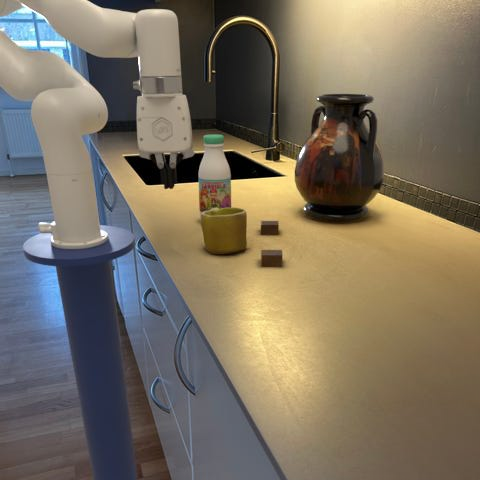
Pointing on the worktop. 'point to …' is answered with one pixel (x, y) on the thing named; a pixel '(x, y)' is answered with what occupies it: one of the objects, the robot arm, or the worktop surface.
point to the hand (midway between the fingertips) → (169, 187)
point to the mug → (224, 230)
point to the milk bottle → (214, 176)
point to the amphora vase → (340, 160)
